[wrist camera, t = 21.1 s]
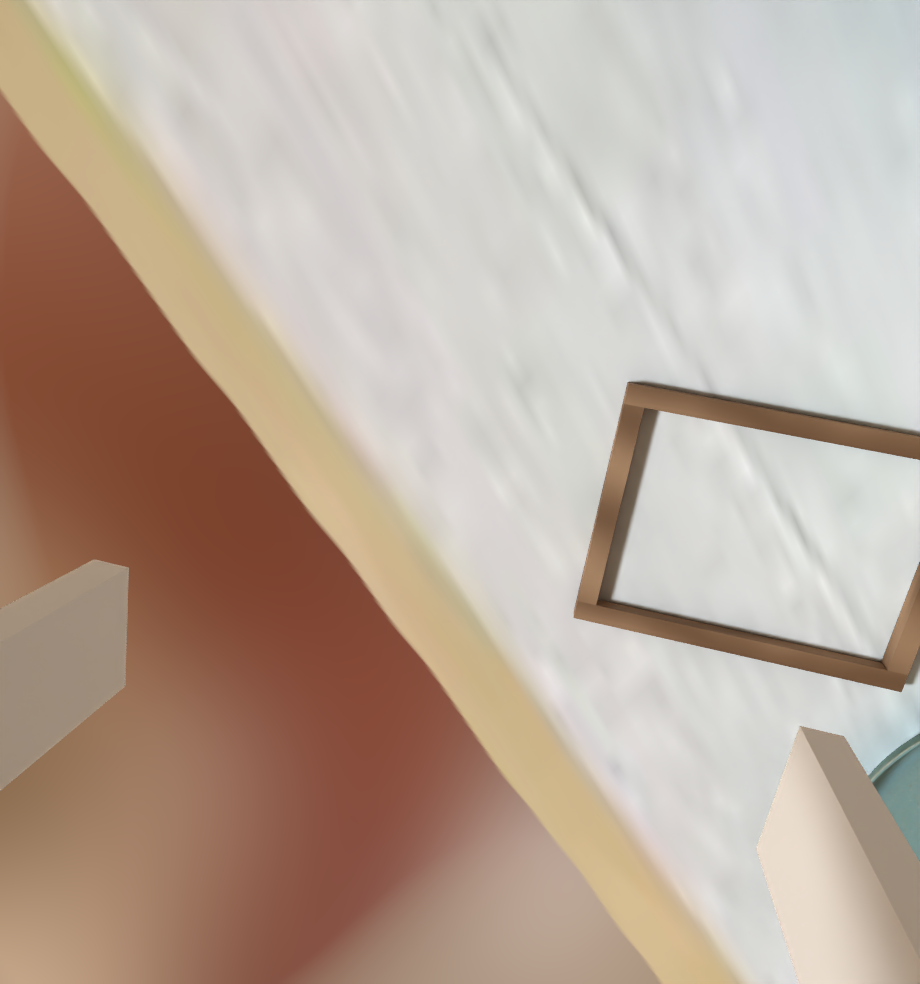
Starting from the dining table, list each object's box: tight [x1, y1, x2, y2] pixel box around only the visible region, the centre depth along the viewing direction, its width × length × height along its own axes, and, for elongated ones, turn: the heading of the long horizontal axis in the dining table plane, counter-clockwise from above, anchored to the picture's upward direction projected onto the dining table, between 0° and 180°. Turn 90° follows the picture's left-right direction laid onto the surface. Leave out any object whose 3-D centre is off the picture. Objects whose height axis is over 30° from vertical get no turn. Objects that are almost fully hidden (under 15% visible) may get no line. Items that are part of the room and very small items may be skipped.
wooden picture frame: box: [574, 382, 920, 692], centre depth 43 cm, size 15×20×1 cm
